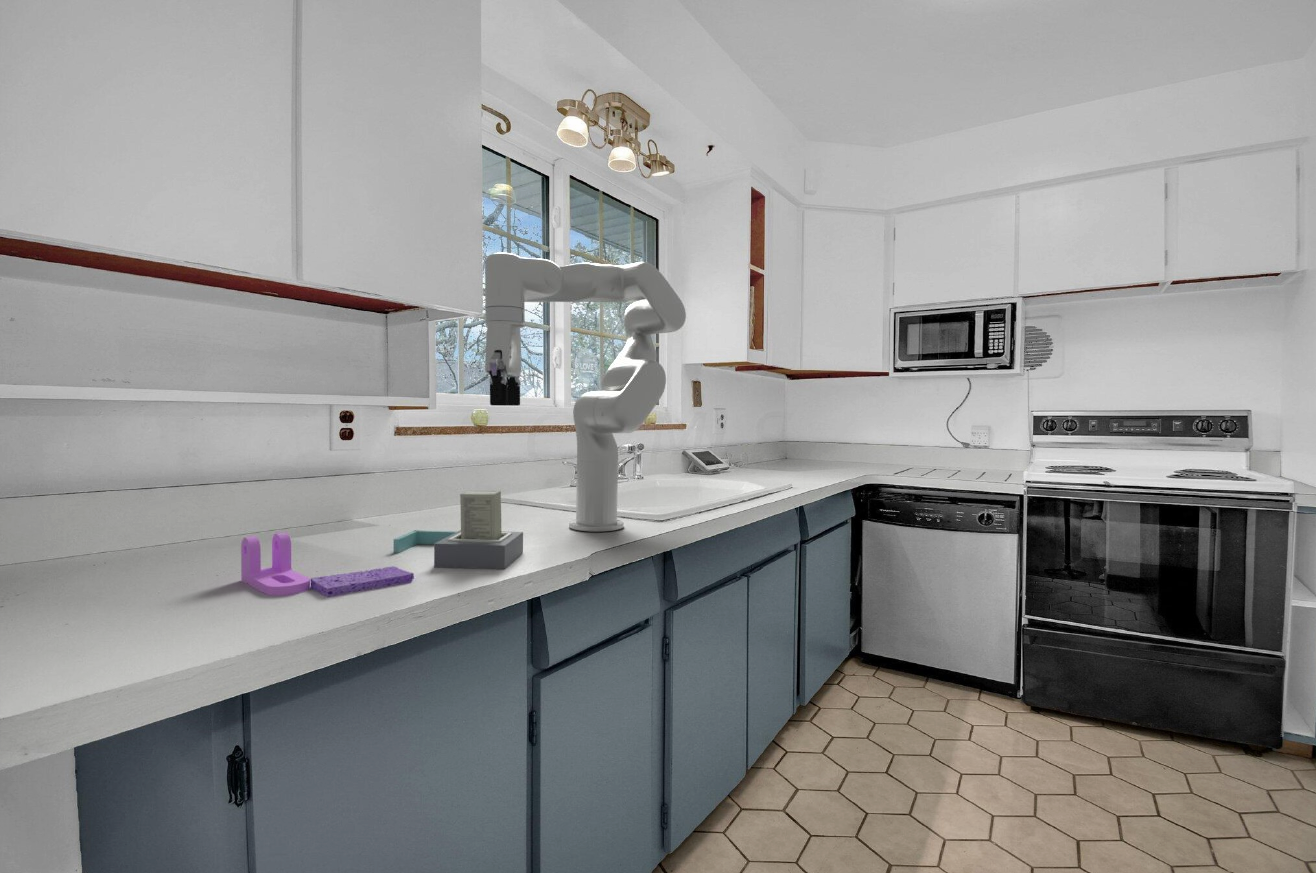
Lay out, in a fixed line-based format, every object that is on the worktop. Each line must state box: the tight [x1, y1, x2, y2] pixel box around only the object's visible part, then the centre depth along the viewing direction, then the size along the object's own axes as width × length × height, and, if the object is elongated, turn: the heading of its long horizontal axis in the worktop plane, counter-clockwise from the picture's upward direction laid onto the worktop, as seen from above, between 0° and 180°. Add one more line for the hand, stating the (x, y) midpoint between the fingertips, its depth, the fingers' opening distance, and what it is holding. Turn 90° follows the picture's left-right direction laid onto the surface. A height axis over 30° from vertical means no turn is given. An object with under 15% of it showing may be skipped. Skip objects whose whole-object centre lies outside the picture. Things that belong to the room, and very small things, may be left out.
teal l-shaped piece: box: [393, 529, 459, 554], centre depth 117 cm, size 9×11×2 cm
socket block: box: [433, 529, 524, 570], centre depth 109 cm, size 12×12×4 cm
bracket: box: [240, 532, 311, 597], centre depth 91 cm, size 13×6×7 cm, turn 51°
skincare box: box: [459, 490, 502, 540], centre depth 108 cm, size 6×4×12 cm
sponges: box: [310, 565, 415, 598], centre depth 92 cm, size 7×13×2 cm, turn 136°
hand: (505, 405), depth 121 cm, fingers open, 9 cm apart
